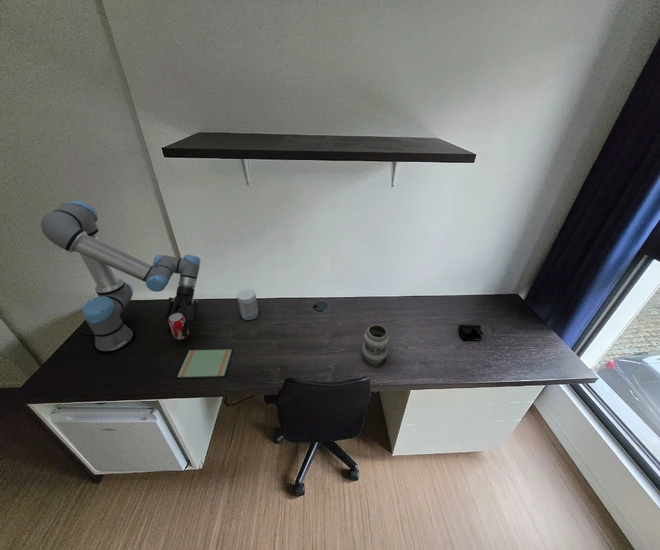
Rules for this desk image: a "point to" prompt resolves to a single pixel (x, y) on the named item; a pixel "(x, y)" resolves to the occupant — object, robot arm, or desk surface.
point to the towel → (205, 363)
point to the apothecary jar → (375, 345)
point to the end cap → (469, 332)
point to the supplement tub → (247, 304)
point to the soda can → (177, 325)
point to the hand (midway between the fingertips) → (176, 335)
